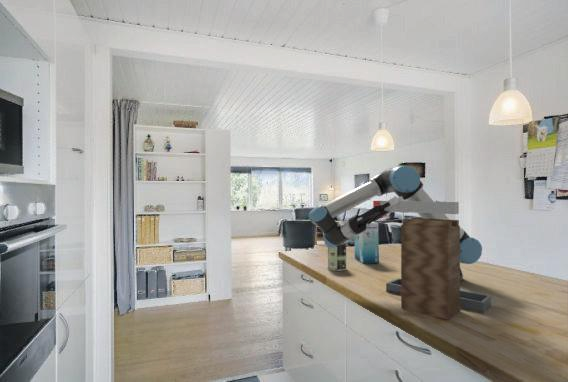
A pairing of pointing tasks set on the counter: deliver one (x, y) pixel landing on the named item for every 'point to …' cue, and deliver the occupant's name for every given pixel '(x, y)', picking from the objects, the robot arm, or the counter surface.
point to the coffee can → (337, 258)
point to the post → (430, 266)
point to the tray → (466, 298)
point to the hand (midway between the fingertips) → (400, 199)
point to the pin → (423, 207)
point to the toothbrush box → (367, 244)
